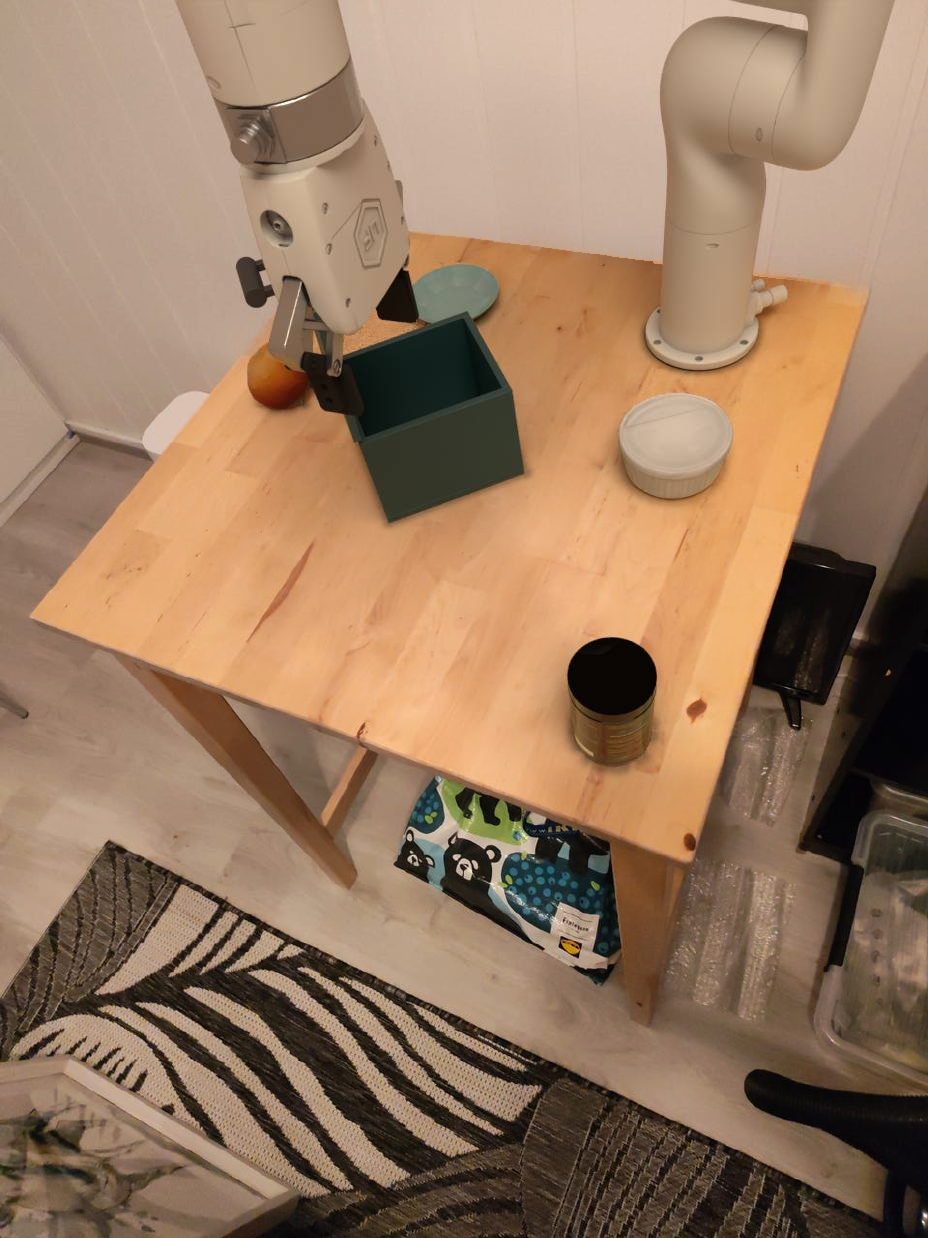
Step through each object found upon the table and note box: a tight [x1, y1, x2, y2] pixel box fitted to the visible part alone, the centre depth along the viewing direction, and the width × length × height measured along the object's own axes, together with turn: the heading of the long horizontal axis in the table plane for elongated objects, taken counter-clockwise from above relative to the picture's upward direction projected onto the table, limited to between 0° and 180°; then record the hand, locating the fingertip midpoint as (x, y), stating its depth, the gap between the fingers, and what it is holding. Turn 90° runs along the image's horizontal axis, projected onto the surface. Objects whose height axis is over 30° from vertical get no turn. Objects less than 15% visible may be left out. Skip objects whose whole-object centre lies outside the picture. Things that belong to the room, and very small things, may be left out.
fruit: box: [246, 341, 312, 410], centre depth 97 cm, size 8×8×8 cm
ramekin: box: [617, 392, 734, 500], centre depth 81 cm, size 11×11×5 cm
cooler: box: [342, 311, 525, 524], centre depth 85 cm, size 16×14×12 cm
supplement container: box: [566, 636, 658, 766], centre depth 65 cm, size 7×7×10 cm
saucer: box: [412, 263, 500, 324], centre depth 102 cm, size 12×12×2 cm
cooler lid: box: [235, 256, 362, 444], centre depth 72 cm, size 16×14×6 cm
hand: (372, 363), depth 57 cm, fingers open, 9 cm apart
